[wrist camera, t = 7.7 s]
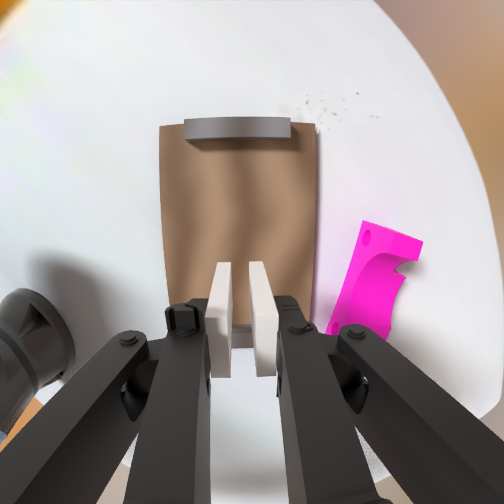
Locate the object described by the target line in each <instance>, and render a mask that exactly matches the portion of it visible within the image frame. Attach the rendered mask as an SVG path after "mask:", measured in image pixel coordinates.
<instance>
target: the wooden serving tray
mask: <svg viewBox="0 0 504 504" xmlns="http://www.w3.org/2000/svg"><path fill="white" fill-rule="evenodd" d="M159 171H160V202H161V220H162V235H163V247H164V259H165V269H166V278H167V287H168V295H169V303H170V306H172V305H175V304H178V303H187V302H188V301H189V300H191V299H192V298H209V296H210V292H211V288H212V283H213V279H214V275H215V271H216V267H217V262H231V278H232V304H233V308H232V339H231V348H254V345H253V334H252V324H251V314H250V293H249V262H256V261H263V265H264V268H265V271H266V275H267V278H268V281H269V285H270V288H271V291H272V295H273V296H282V295H290V296H292V297H293V298H295V299H296V300H297V302H298V304H299V306H300V308H301V311H302V313H303V315H304V317H305V319H306V321H309V319H310V307H311V294H312V280H313V263H314V242H315V211H316V136H315V124H313V123H298V122H290V118H286V117H214V118H197V119H184V124H176V125H166V126H160V129H159Z"/></svg>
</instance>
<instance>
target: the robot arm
mask: <svg viewBox="0 0 504 504" xmlns="http://www.w3.org/2000/svg"><path fill="white" fill-rule="evenodd" d="M249 293H250V314H251V324H252V334H253V345H254V355H255V365H256V374H257V377H263V376H276V369H277V372H278V380H277V396H276V397H279V404H280V414H281V424H282V434H283V444H284V454H285V464H286V474H287V485H288V496H289V504H393V503H392V502H391V501H390V500H388V499H384V498H381V497H380V496H379V495H378V493H377V491H376V488H375V485H374V482H373V479H372V476H371V473H370V470H369V467H368V464H367V461H366V458H365V455H364V452H363V449H362V446H361V444H360V441H359V438H358V435H357V432H356V429H355V427H356V428H357V429H358V431H359V432H360V433H361V435H362V436H363V437H364V439H365V440H366V442H367V443H368V444H369V446H370V447H371V448H372V450H373V451H374V452H375V454H376V455H377V456H378V458H379V459H380V460H381V462H382V463H383V464H384V466H385V467H386V468H387V470H388V471H389V472H390V474H391V475H392V476H393V477H394V479H395V480H396V481H397V483H398V484H399V485H400V487H401V488H402V489H403V491H404V492H405V493H406V494H407V496H408V497H409V498H410V500H411V501H412V502H413V503H414V504H504V441H503V440H501V439H500V438H499V437H498V436H497V435H496V434H495V433H494V432H492V431H491V430H490V429H489V428H488V427H487V426H485V425H484V424H483V423H482V422H481V421H480V420H479V419H478V418H476V417H475V416H474V415H473V414H472V413H471V412H469V411H468V410H467V409H466V408H465V407H464V406H462V405H461V404H460V403H459V402H458V401H457V400H455V399H454V398H453V397H452V396H451V395H450V394H448V393H447V392H446V391H445V390H444V389H442V388H441V387H440V386H439V385H438V384H437V383H435V382H434V381H433V380H432V379H431V378H429V377H428V376H427V375H426V374H425V373H424V372H422V371H421V370H420V369H419V368H418V367H416V366H415V365H414V364H413V363H412V362H410V361H409V360H408V359H407V358H406V357H404V356H403V355H402V354H401V353H399V352H398V351H397V350H396V349H395V348H393V347H392V346H391V345H390V344H389V343H387V342H386V341H385V340H384V339H383V338H381V337H380V336H379V335H378V334H376V333H375V332H374V331H373V330H372V329H370V328H368V327H367V326H363V325H361V324H348V325H345V326H342V327H341V328H340V329H339V333H338V335H328V334H322V333H319V332H318V330H317V327H316V326H315V325H314V324H313V323H311V322H309V321H306V319H305V317H304V315H303V313H302V311H301V308H300V306H299V304H298V302H297V300H296V299H295V298H293V297H292V296H290V295H282V296H273V295H272V291H271V288H270V285H269V281H268V278H267V275H266V271H265V268H264V265H263V261H256V262H249ZM232 308H233V304H232V278H231V262H217V267H216V271H215V275H214V279H213V283H212V288H211V292H210V296H209V298H192V299H191V300H189V301H188V302H187V303H178V304H175V305H172V306H170V307H168V308H167V309H166V310H165V317H166V323H167V329H168V333H167V336H166V338H163V339H158V340H152V341H147V339H146V335H145V334H144V333H142V332H139V331H132V330H129V331H124V332H122V333H119V334H117V335H116V336H114V337H113V338H112V339H111V340H110V341H109V342H108V343H107V344H106V345H105V346H104V347H103V348H102V349H101V350H100V351H99V352H98V353H97V354H95V355H94V356H93V357H92V358H91V359H90V360H89V361H88V362H87V363H86V364H85V365H84V366H83V367H82V368H81V369H80V370H79V371H78V372H77V373H76V374H75V375H74V376H73V377H72V378H71V379H70V380H69V381H68V382H67V383H66V384H65V385H64V386H63V387H62V388H61V389H60V390H59V391H58V392H57V393H56V394H55V395H54V396H53V397H52V398H51V399H50V400H49V401H48V402H47V403H46V404H45V405H44V406H43V407H42V408H41V410H39V411H38V413H37V414H36V415H35V416H34V417H33V418H32V419H31V420H30V421H29V422H28V423H27V424H26V425H25V426H24V427H23V428H22V429H21V431H20V432H19V433H18V434H17V435H16V436H15V437H14V438H13V439H12V440H11V441H10V442H9V443H8V445H7V446H6V447H5V448H4V449H3V450H2V451H1V452H0V504H96V503H97V501H98V499H99V498H100V496H101V494H102V492H103V491H104V489H105V487H106V486H107V484H108V482H109V481H110V479H111V477H112V476H113V474H114V472H115V470H116V469H117V467H118V465H119V464H120V462H121V460H122V459H123V457H124V455H125V454H126V452H127V450H128V449H129V447H130V445H131V444H132V442H133V440H134V439H135V437H136V435H137V433H138V432H139V434H138V438H137V442H136V446H135V450H134V455H133V459H132V463H131V468H130V473H129V478H128V482H127V487H126V492H125V497H124V501H123V504H211V492H210V393H211V384H210V377H209V375H210V373H211V378H231V339H232ZM73 362H74V346H73V342H72V339H71V336H70V333H69V331H68V329H67V327H66V325H65V323H64V322H63V320H62V319H61V317H60V316H59V314H58V313H57V312H56V310H55V309H54V308H53V307H52V306H51V305H50V303H48V302H47V301H46V300H45V299H44V298H43V297H42V296H40V295H39V294H37V293H36V292H34V291H31V290H29V289H24V288H21V289H17V290H15V291H13V292H12V293H10V294H8V295H7V296H6V297H5V298H4V299H3V300H2V302H1V304H0V444H1V442H2V441H3V440H4V438H7V436H8V434H9V432H10V431H11V429H12V428H13V426H14V425H15V423H16V421H17V420H18V418H19V417H20V416H21V414H22V412H23V411H24V410H25V408H26V407H27V405H28V404H29V403H30V401H31V400H32V398H33V397H34V396H35V394H36V393H37V392H38V390H40V389H42V388H43V387H45V386H47V385H49V384H51V383H53V382H55V381H57V380H59V379H60V378H62V377H63V376H64V375H65V374H66V373H67V372H68V371H69V369H70V368H71V366H72V365H73ZM364 376H365V377H366V379H367V381H368V382H367V381H366V380H365V379H364ZM123 385H124V387H123ZM122 387H123V388H122ZM354 425H355V427H354Z"/></svg>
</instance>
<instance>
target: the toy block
mask: <svg viewBox="0 0 504 504" xmlns="http://www.w3.org/2000/svg"><path fill="white" fill-rule="evenodd" d="M422 245H423V241H420V240H418V239H415V238H413V237H410V236H408V235H405V234H402V233H400V232H397V231H395V230H392V229H389V228H386V227H383V226H380V225H377V224H374V223H370V222H367V221H364V220H363V221H362V225H361V228H360V232H359V236H358V239H357V242H356V246H355V249H354V252H353V256H352V259H351V262H350V265H349V268H348V271H347V274H346V278H345V281H344V283H343V286H342V289H341V292H340V295H339V298H338V301H337V304H336V306H335V309H334V312H333V314H332V317H331V320H330V322H329V325H328V328H327V330H326V333H325V334H328V335H338V333H339V329H340V328H341V327H342V326H345V325H348V324H361V325H363V326H367V327H368V328H370V329H372V330H373V331H374V332H375V333H376V334H378V335H379V336H380V337H381V338H383V339H384V340H385V341H386V339H387V336H388V334H389V332H390V330H391V314H392V309H393V304H394V301H395V297H396V295H397V292H398V290H399V288H400V286H401V284H402V283H403V281H404V280H405V278H406V277H405V276H403V275H402V274H400V273H399V272H397V271H396V270H394V269H395V268H396V267H397V266H398V265H400V264H402V263H404V262H406V261H418V258H419V255H420V251H421V248H422Z"/></svg>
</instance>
